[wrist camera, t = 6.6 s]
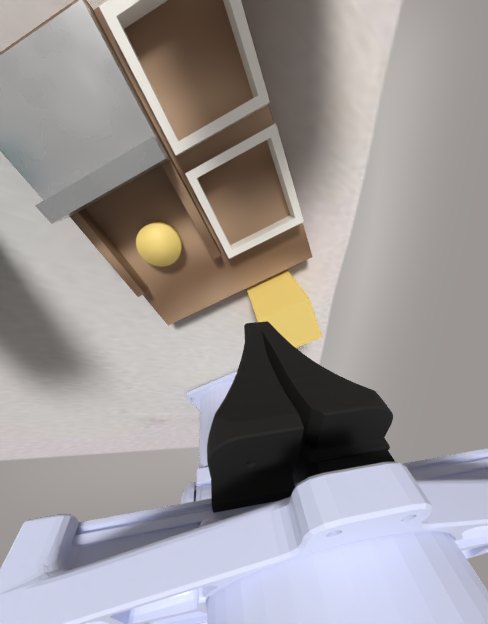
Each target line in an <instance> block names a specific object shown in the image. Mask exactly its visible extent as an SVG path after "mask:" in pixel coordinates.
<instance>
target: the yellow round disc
mask: <svg viewBox="0 0 488 624" xmlns="http://www.w3.org/2000/svg"><path fill="white" fill-rule="evenodd" d="M136 247H137V250H138V252H139V254H140V255H141V257H142V258H143V259H144V260H145V261H147V262H148V263H150V264H152V265H155V266H160V267H164V266H168V265H171V264H173V263H174V262H175V261H176V260H177V259H178V258H179V256H180V252H181V249H182V240H181V237H180V234H179V233H178V231H177V230H176V229H175V228H174V227H173V226H172V225H170V224H168V223H166V222H163V221H153V222H150V223H148V224H146V225H145V226H144V227H143V228H142V229H141V230H140V231H139V233H138V235H137V238H136Z"/></svg>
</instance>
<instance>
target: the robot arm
mask: <svg viewBox="0 0 488 624" xmlns="http://www.w3.org/2000/svg"><path fill="white" fill-rule="evenodd" d="M244 328H245V345H244V350H243V354H242V359H241V362H240V365H239V368H238V371H236V372H233V373H231V374H229V375H226V376H224V377H222V378H220V379H217V380H215V381H213V382H210V383H208V384H206V385H203V386H201V387H199V388H196V389H194V390H192V391H189V392H187V393H186V398H187V399H188V400H189V401H190V402H191V403H192V404H193V405H194V406H195V407H196V408H197V409H198V410H199V411H200V429H199V469H197V486H196V485H195V482H190V483H189V484H188V487H186V489H185V490H184V491H183V494H182V499H181V504H177V505H171V506H166V507H160V508H155V509H150V510H144V511H138V512H133V513H127V514H122V515H116V516H111V517H105V518H100V519H94V520H89V521H83V522H78V520H77V519H76V517H74V516H73V515H71V514H58V515H52V516H46V517H40V518H35V519H29V520H27V521H25V522H24V523H23V525H22V527H21V529H20V531H19V533H18V535H17V537H16V539H15V541H14V543H13V545H12V547H11V549H10V551H9V553H8V555H7V557H6V559H5V561H4V563H3V565H2V567H1V569H0V624H488V591H487V589H486V588H485V586H484V585H483V583H482V582H481V580H480V579H479V577H478V576H477V574H476V573H475V571H474V570H473V568H472V567H471V565H470V564H469V562H468V560H467V558H470V557H474V556H478V555H481V554H484V553H488V448H487V449H481V450H476V451H471V452H465V453H459V454H454V455H448V456H443V457H437V458H432V459H426V460H420V461H415V462H409V463H404V464H401V463H398V462H395V461H394V459H393V458H392V456H391V455H390V453H389V452H388V450H389V448H390V447H389V445H388V443H387V441H386V440H385V438H384V437H385V435H386V433H387V431H388V429H389V427H390V425H391V423H392V420H393V414H392V412H391V411H390V409H389V408H388V407H387V405H386V404H385V403H384V401H383V400H382V399H381V397H380V396H379V395H378V394H377V393H376V392H375V391H374V390H371V389H368V388H366V387H363V386H361V385H358V384H356V383H353V382H351V381H349V380H347V379H345V378H343V377H340V376H338V375H336V374H334V373H332V372H331V371H329V370H327V369H325V368H324V367H322V366H320V365H319V364H317V363H315V362H314V361H312V360H311V359H310V358H308V357H307V356H305V355H304V354H302V353H301V352H300V351H299V350H298V349H296V348H295V347H294V346H293V345H292V344H290V343H289V342H288V341H287V340H286V339H285V338H284V337H283V336H282V335H281V334H280V333H279V332H278V331H277V330H276V329H275V328H274V327H273V326H272V325H271V324H270V323H269V322H268V321H266V322H257V323H247V324H245V325H244Z"/></svg>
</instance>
